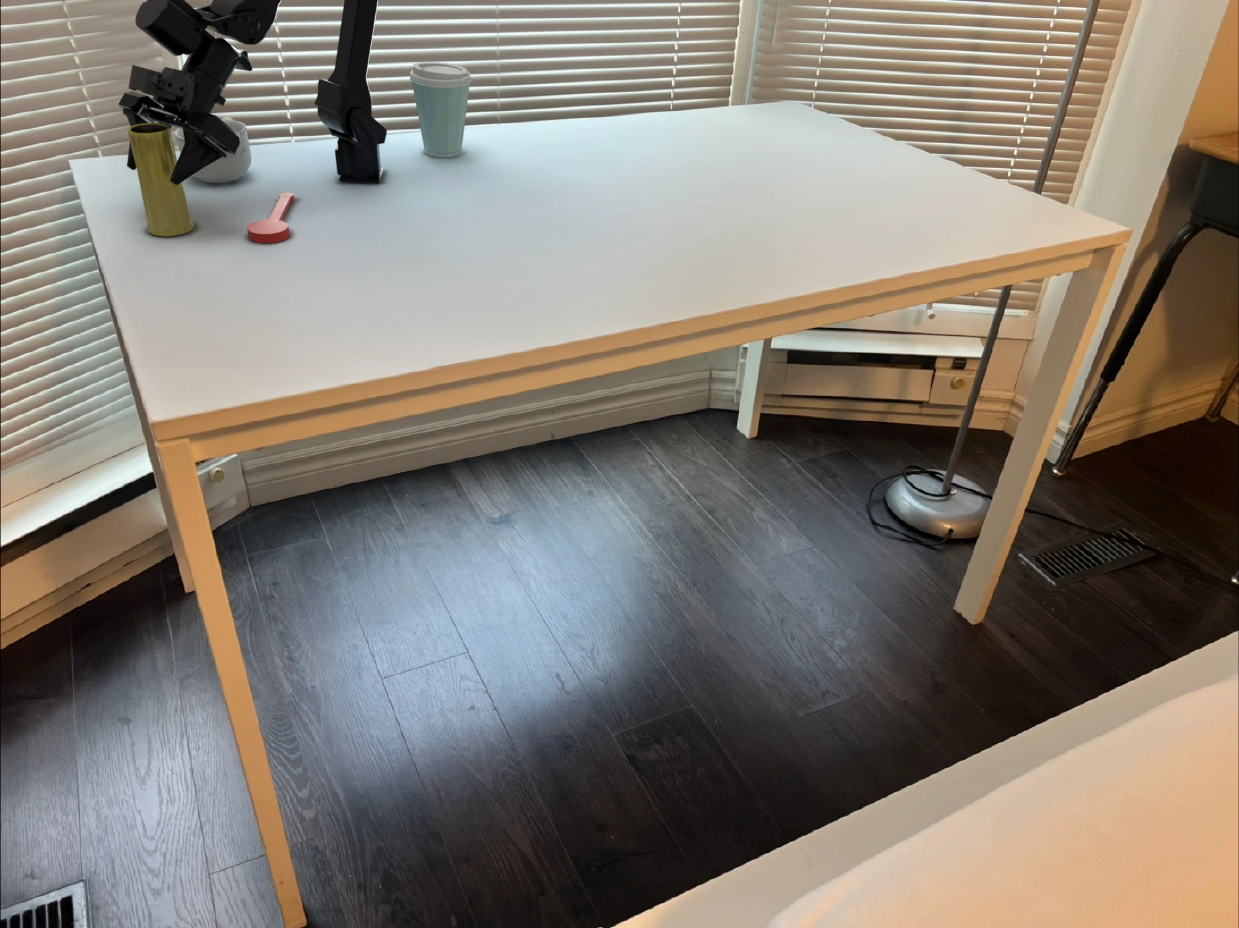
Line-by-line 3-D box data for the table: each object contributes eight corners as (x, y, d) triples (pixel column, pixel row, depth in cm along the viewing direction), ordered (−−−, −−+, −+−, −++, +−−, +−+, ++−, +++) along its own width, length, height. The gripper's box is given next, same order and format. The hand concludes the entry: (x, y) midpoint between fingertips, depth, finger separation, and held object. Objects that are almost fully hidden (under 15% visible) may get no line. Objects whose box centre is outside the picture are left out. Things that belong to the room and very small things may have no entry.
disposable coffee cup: (443, 139, 178) (439, 54, 169) (486, 152, 173) (484, 65, 165) (401, 152, 171) (395, 63, 162) (445, 166, 166) (440, 75, 157)
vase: (203, 226, 138) (183, 126, 130) (170, 240, 134) (147, 137, 125) (171, 218, 140) (149, 118, 132) (138, 231, 136) (113, 129, 127)
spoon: (306, 198, 150) (305, 189, 149) (286, 243, 135) (284, 234, 134) (270, 198, 149) (268, 189, 148) (244, 243, 134) (243, 233, 134)
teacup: (232, 191, 150) (223, 140, 146) (170, 183, 152) (158, 132, 147) (276, 165, 162) (268, 116, 157) (217, 158, 163) (208, 109, 158)
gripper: (114, 28, 130) (59, 128, 128) (206, 51, 122) (149, 158, 120) (176, 79, 140) (126, 172, 138) (264, 103, 132) (212, 202, 131)
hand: (151, 175), depth 132 cm, fingers open, 9 cm apart
